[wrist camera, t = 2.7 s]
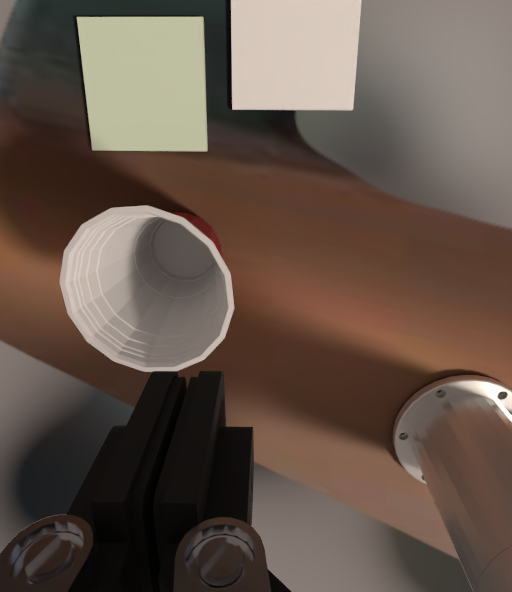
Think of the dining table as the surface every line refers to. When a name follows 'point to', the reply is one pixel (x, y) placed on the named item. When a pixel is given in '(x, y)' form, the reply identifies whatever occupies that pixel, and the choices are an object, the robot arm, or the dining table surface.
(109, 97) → the sage pad
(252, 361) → the dining table surface
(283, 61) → the blush pad
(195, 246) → the plastic cup
